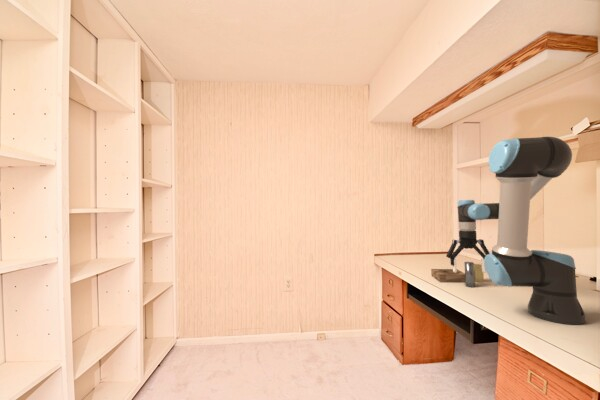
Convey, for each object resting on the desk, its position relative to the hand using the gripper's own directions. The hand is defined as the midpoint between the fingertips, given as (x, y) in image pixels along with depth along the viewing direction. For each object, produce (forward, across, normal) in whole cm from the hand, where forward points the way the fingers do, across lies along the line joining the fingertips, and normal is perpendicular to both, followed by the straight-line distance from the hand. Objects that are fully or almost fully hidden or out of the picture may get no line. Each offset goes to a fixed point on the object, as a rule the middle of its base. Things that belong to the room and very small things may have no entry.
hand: (469, 272), depth 135 cm
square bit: (+7, -8, -10) cm, 14 cm away
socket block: (+7, +5, -14) cm, 16 cm away
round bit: (+7, 0, 0) cm, 7 cm away
